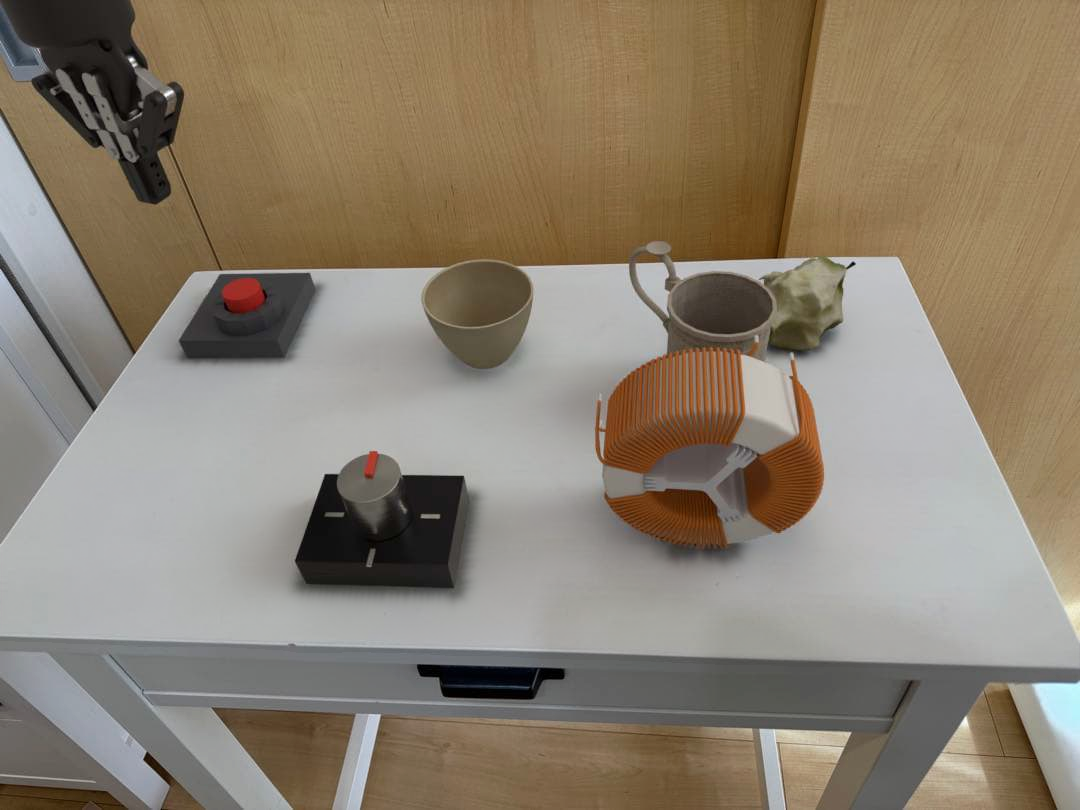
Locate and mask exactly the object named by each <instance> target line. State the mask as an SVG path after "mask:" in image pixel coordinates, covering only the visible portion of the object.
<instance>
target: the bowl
mask: <svg viewBox="0 0 1080 810" xmlns="http://www.w3.org/2000/svg"><path fill="white" fill-rule="evenodd" d="M533 301H534V283H533V281H532V279H531V277H530V276H529V274H527V272H526V271H524V270H523V269H522V268H520V267H519V266H517V265H514V264H512V263H509V262H506V261H503V260H497V259H487V258H486V259H472V260H471V259H470V260H465V261H462V262H457V263H455V264H452V265H450V266H448V267H447V266H446V267H445V268H444V269H442V270H440V271H439V272H437V273H436V274H434V275H433V276H432V277H431V278H430V279H428V281H427V283H426V284H425V286H424V287H423V289H422V292H421V305H422V308H423V310H424V313H425V317H426V319H427V320H428V323H429V324H430V327H431V328H432V329H433V331H434V333H435V335H436V336H437V338H438V339H439V340H440V342H441V343H442V344H443V345H444V346H445V347H446V349H447V350H448V351H449V352H450V353H451V354H452V355H453V356H454V357H456V358H457V359H458V360H459V361H461V362H462V363H463V364H465V365H466V366H468V367H471V368H474V369H479V370H488V369H492V368H495V367H499V366H501V365H503V364H504V363H505V362H507V361H508V360H509V358H511V356H512V355H513V354H514V352H515V351H516V349H517V347H518V346H519V345H520V343H521V340H522V339H523V336H524V334H525V332H526V330H527V328H528V327H527V326H528V324H529V320H530V317H531V313H532V307H533V303H534V302H533Z"/></svg>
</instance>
